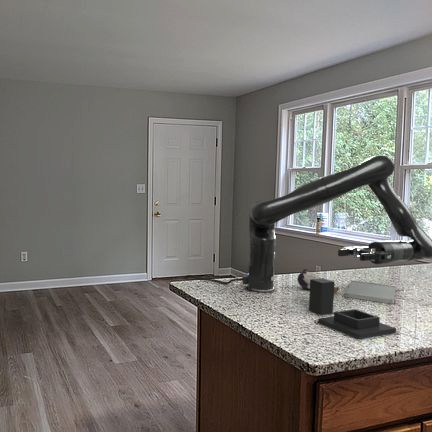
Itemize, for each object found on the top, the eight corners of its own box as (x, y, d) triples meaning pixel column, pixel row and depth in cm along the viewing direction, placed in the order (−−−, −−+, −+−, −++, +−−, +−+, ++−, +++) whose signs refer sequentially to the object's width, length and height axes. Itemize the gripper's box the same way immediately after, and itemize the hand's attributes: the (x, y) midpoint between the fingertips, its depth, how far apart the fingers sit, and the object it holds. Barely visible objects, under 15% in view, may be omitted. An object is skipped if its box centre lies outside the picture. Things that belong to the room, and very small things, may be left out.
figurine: (331, 293, 154) (292, 277, 164) (330, 306, 157) (292, 289, 167) (343, 277, 159) (304, 262, 168) (342, 290, 162) (304, 275, 172)
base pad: (358, 339, 113) (359, 325, 113) (317, 322, 126) (318, 310, 126) (395, 332, 119) (396, 319, 118) (353, 317, 132) (353, 305, 131)
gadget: (393, 303, 146) (393, 293, 146) (344, 296, 155) (345, 286, 154) (397, 290, 166) (397, 280, 165) (353, 284, 174) (354, 275, 173)
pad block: (320, 314, 133) (322, 282, 132) (308, 310, 138) (310, 279, 137) (332, 313, 135) (334, 281, 134) (320, 308, 140) (322, 278, 139)
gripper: (367, 238, 152) (332, 240, 146) (405, 244, 139) (369, 246, 133) (366, 259, 153) (331, 262, 146) (404, 267, 140) (368, 271, 133)
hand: (349, 255), depth 139 cm, fingers open, 8 cm apart
